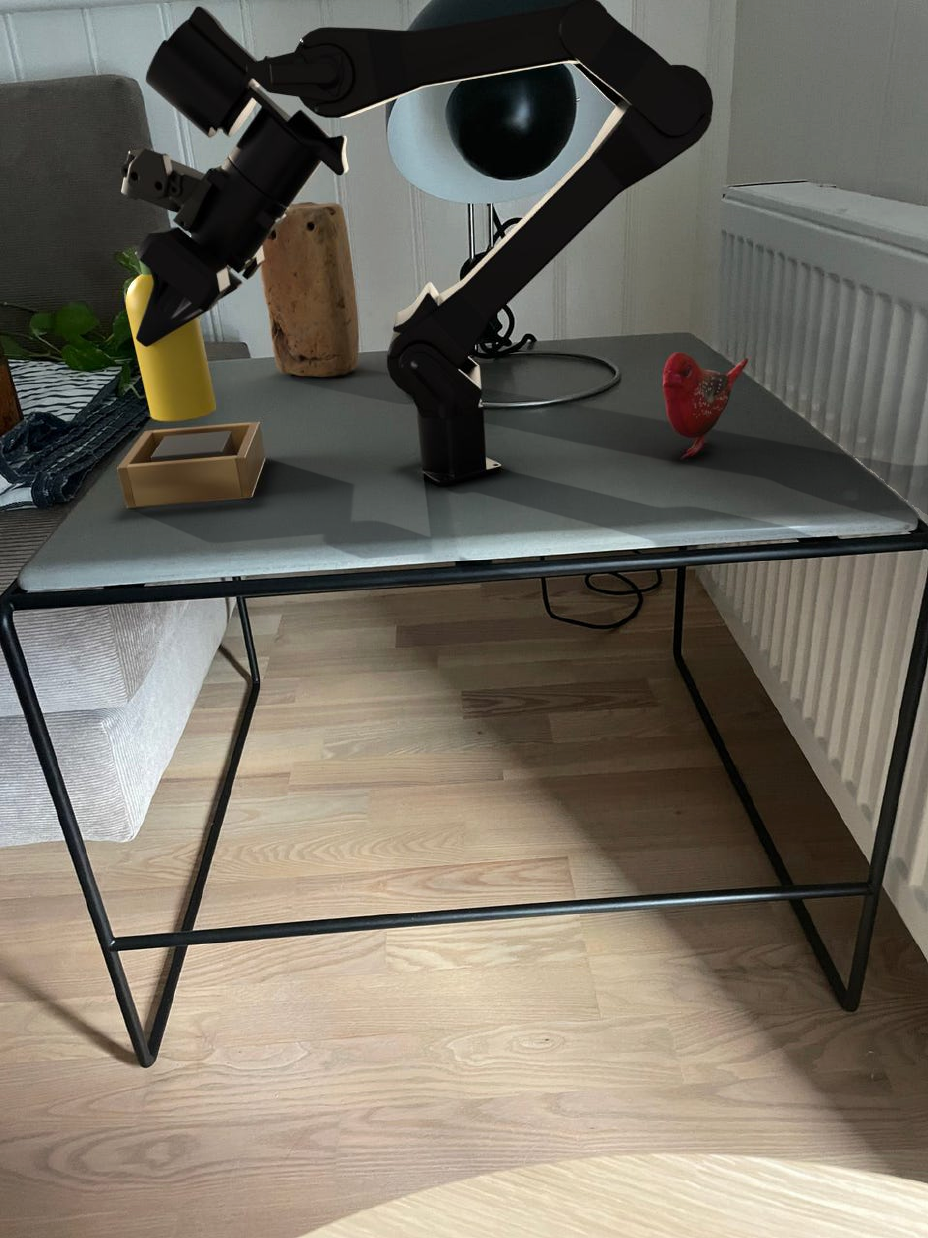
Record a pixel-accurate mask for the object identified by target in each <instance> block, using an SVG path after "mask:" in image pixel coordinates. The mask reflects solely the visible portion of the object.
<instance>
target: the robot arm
mask: <svg viewBox="0 0 928 1238" xmlns="http://www.w3.org/2000/svg"><path fill="white" fill-rule="evenodd" d="M559 64H571V65H572V66H573V67H574V68H576V70H578V71H579V72H580V73H581V75H583V76H584V77H585V78H586V80H588V81H589V83H591V84H592V85H593V86H594V87H595V88H596V89H597V90H598V91H599V93H600V94H601V95H603V96H604V97H605V98H606V99H607V100H608V101H609V102H610V103H611V104H612V105H614V107H615V108H614V109H613V110H612V112H611V113H610V114H609V116H608V117H607V119H606V121H605V122H604V123H603V125H602V127H601V128H600V130H599V132H598V133H597V135H596V137H595V139H594V140H593V142H592V143H591V144H590V146H589V148H588V149H587V151H586V152H585V153H584V155H583V156H582V157H581V158H580V160H578V161H577V162H576V163H575V165H573V166H572V168H570V170H569V171H568V172H567V173H566V174H565V175H563V176H562V178H561V179H560V180H559V181H558V182H557V183H556V184H555V185H554V186H553V187H552V188H551V189H550V190H549V191H548V192H547V193H546V194H545V195H544V196H543V197H542V198H541V199H540V200H539V201H538V202H537V203H535V205H534V206H533V207H532V208H531V209H530V210H529V211H528V212H527V213H526V214H525V216H523V217H522V218H521V219H520V221H519V222H518V223H516V225H515V226H514V227H512V229H511V230H510V231H509V232H507V233H506V235H504V237H503V238H502V239H501V240H500V241H499V242H498V243H497V244H496V245H495V246H494V247H493V248H492V249H491V250H489V252H488V253H487V254H486V255H485V256H484V257H483V258H482V259H481V260H480V261H479V262H478V263H477V264H476V265H475V266H474V267H473V268H472V269H471V270H470V271H469V272H468V273H467V274H466V275H465V276H464V278H463V279H461V280H460V281H459V282H457V283H456V284H454V285H453V286H451V287H449V288H447V289H446V290H444V291H442V292H441V293H439V291H438V290H437V288H436V287H435V285H434V284H433V283H432V282H431V281H429V282H427V284H426V285H425V286H424V288H423V289H422V291H421V292H420V293H419V295H418V297H417V298H416V299H415V301H414V302H413V303H412V304H411V305H409V306H408V307H407V308H405V309H403V310H400V311H398V312H397V314H396V317H395V321H394V323H393V328H392V331H393V332H392V336H391V339H390V342H389V346H388V349H387V352H386V368H387V371H388V374H389V377H390V379H391V380H392V382H393V383H394V384H395V385H396V387H398V388H399V389H400V390H401V391H403V392H404V393H406V394H409V395H410V396H411V398H412V400H413V402H414V405H415V406H416V413H417V414H416V415H417V417H416V418H417V428H418V429H417V430H418V437H419V438H418V440H419V451H420V458H421V459H420V461H421V467H422V476H423V478H424V479H425V480H428V481H429V482H430V483H431V482H432V483H433V484H435V485H437V486H440V487H443V486H448V485H452V484H455V483H459V482H463V481H466V480H470V479H474V478H478V477H482V476H485V475H490V474H492V473H496V472H501V470H502V464H501V463H499V462H497V461H495V460H492V459H490V458H488V457H487V450H486V429H485V428H486V427H485V412H484V411H485V410H484V408H485V407H484V405H483V400H482V396H483V385H482V374H481V373H482V372H481V367H480V365H479V364H478V363H477V362H475V361H474V360H473V359H472V358H471V357H470V355H471V353H472V352H473V350H474V348H475V347H476V345H477V344H478V342H479V341H480V339H481V337H482V336H483V334H484V332H485V331H486V329H487V328H488V326H489V325H490V323H491V322H492V320H493V319H494V318H495V317H496V316H497V315H498V314H499V313H500V312H501V311H502V310H503V309H504V308H505V307H506V306H507V305H508V304H509V303H510V302H511V301H512V300H513V299H514V298H515V297H517V295H518V294H519V293H520V292H521V291H522V290H523V289H524V288H525V287H526V286H528V284H530V282H532V280H533V279H535V277H537V275H538V274H539V273H540V272H541V271H543V270H544V269H545V268H546V267H547V266H548V264H550V263H551V262H552V261H553V260H554V259H555V258H556V256H558V255H559V254H560V253H561V252H562V251H563V250H564V249H565V248H566V247H567V246H568V245H569V244H570V243H571V242H572V241H573V240H574V239H575V238H576V237H578V235H579V234H580V233H581V232H582V231H583V230H584V229H585V228H586V227H587V226H588V225H590V223H591V222H592V221H593V220H594V219H595V218H596V217H597V216H598V215H600V213H601V212H602V211H603V210H604V209H606V208H607V206H609V204H610V203H612V201H613V200H614V199H616V198H617V197H618V195H621V193H623V192H624V191H625V190H627V189H628V188H631V187H632V186H634V185H636V184H637V183H639V182H641V181H642V180H644V179H645V178H647V177H648V176H651V175H652V174H654V173H656V172H657V171H658V170H661V169H662V168H663V167H665V166H666V165H667V164H670V162H672V161H674V160H675V159H676V158H677V157H679V156H681V155H682V154H683V153H685V152H686V151H687V150H689V149H691V148H692V147H693V146H695V145H696V144H697V143H698V142H699V141H701V139H702V138H703V136H704V135H705V134H706V132H707V131H708V129H709V128H710V125H711V122H712V118H713V117H712V116H713V110H714V98H713V92H712V89H711V86H710V84H709V82H708V81H707V78H706V77H705V76H704V75H703V74H702V73H701V72H700V71H699V70H697V68H695V67H691V66H689V65H686V64H670V63H669V62H668V61H667V59H665V58H664V57H663V56H662V55H661V54H660V53H658V51H656V50H655V49H654V48H653V47H651V45H648V44H647V43H646V42H644V40H642V39H641V37H639V36H637V35H636V34H634V33H633V32H632V31H631V30H629V29H628V27H627V28H626V26H624V25H623V24H621V23H620V22H619V21H618V20H617V19H616V18H614V16H613V15H611V13H609V12H608V9H607V8H606V7H605V6H604V5H603V4H602V3H601V2H600V1H599V0H570V1H568V2H566V3H563V4H558V5H553V6H547V7H541V8H535V9H529V10H525V11H517V12H513V13H508V14H502V15H501V14H500V15H496V16H490V17H485V18H479V19H473V20H468V21H462V22H455V23H452V24H446V25H440V26H434V27H427V28H423V29H418V30H403V29H402V30H401V29H399V30H397V29H385V28H370V27H368V28H367V27H341V26H339V27H334V26H333V27H332V26H324V27H318V28H315V29H313V30H311V31H309V32H307V33H305V35H303V36H302V38H301V39H300V40H299V43H298V45H297V46H296V48H295V50H294V51H293V52H288V53H284V54H280V55H275V56H269V55H265V56H264V57H263V59H260V60H258V59H257V58H255V57H254V56H253V55H252V54H251V53H250V52H249V51H248V50H247V49H246V48H245V47H244V46H243V45H242V44H241V43H239V41H238V40H236V39H235V38H234V37H233V36H232V35H231V34H230V33H229V32H228V31H227V30H226V29H225V27H224V26H223V25H222V23H221V21H220V20H218V18H217V17H216V16H214V14H213V13H212V12H210V11H209V10H208V9H207V8H205V7H203V6H196V7H195V9H193V12H192V13H191V15H190V16H189V17H188V19H186V20H185V21H183V22H182V23H181V24H180V25H179V26H178V27H177V28H176V29H175V31H173V33H172V34H171V35H170V37H168V39H164V40H163V41H162V42H161V44H160V45H159V47H158V48H157V50H156V51H155V54H154V55H153V57H152V58H151V61H150V63H149V65H148V67H147V70H146V75H145V82H146V84H147V85H148V86H149V87H150V88H152V89H153V90H154V91H155V92H156V93H157V94H158V95H160V96H161V97H162V98H163V99H164V100H165V101H167V102H168V103H169V104H170V105H171V106H172V107H174V109H176V111H178V112H179V113H180V114H181V115H183V116H184V118H186V119H187V120H188V121H189V122H190V123H192V124H193V125H194V126H195V127H196V128H197V129H198V130H200V132H202V133H203V134H204V135H205V136H206V137H208V138H209V139H211V138H213V137H214V136H215V135H217V134H218V133H219V132H220V131H221V130H222V133H223V134H224V135H225V136H226V137H228V138H231V137H232V136H234V135H235V133H237V132H238V131H239V129H240V128H241V127H242V126H243V124H244V123H245V122H246V120H247V119H248V117H249V116H250V114H251V113H252V111H253V109H254V108H255V106H256V104H259V105H260V106H261V107H260V108H259V110H258V112H257V113H256V114H255V115H254V118H253V119H252V120H251V122H250V124H249V125H248V126H247V128H246V129H245V130H244V132H243V133H242V135H241V137H240V138H239V139H238V141H237V142H236V144H235V146H234V147H233V148H232V150H231V151H230V153H229V154H228V156H227V157H226V159H225V160H224V161H223V163H222V164H221V165H219V166H217V167H210V168H208V170H207V171H206V172H201V171H200V170H198V169H195V168H193V167H191V166H190V165H189V166H188V165H186V164H183V163H181V162H179V161H176V160H174V159H171V158H170V155H169V153H166V152H165V153H161V152H158V151H155V150H154V148H153V147H151V146H148V147H143V148H140V149H132V150H129V151H128V154H127V157H126V161H125V162H124V163H123V164H121V165H120V167H119V172H120V174H121V176H122V177H123V181H122V186H121V191H120V192H121V194H122V195H124V196H125V197H128V198H130V199H131V200H134V201H136V200H142V201H144V202H146V203H149V204H152V205H155V206H157V207H160V208H161V209H165V210H167V211H169V212H173V213H176V215H175V216H174V218H173V219H172V221H173V223H175V224H176V225H177V226H175V227H161V228H159V229H155V230H154V231H151V232H148V233H147V235H146V236H145V238H144V239H143V241H142V242H141V243H140V245H139V247H138V248H137V250H136V251H135V256H136V258H137V259H138V261H139V260H140V261H141V262H142V263H143V264H145V265H146V266H147V267H148V268H149V269H150V272H151V275H152V278H153V287H152V290H151V294H150V297H149V300H148V303H147V306H146V309H145V312H144V315H143V318H142V321H141V324H140V326H139V329H138V332H137V335H136V340H137V341H138V342H140V343H141V344H142V345H144V346H145V347H148V346H150V345H151V344H153V343H155V342H156V341H158V340H160V339H161V338H163V337H165V336H166V335H168V334H170V333H171V332H173V331H175V330H176V329H178V328H180V327H182V326H183V325H185V324H187V323H188V322H190V321H192V320H193V319H195V318H197V317H198V316H199V317H200V316H202V315H203V314H205V313H207V312H209V311H210V310H212V309H213V308H214V307H216V306H217V305H218V304H219V301H220V300H222V299H223V298H225V297H226V296H228V295H230V294H232V293H233V292H235V291H236V290H237V289H239V288H240V287H241V286H243V281H242V280H241V279H240V278H239V277H238V276H237V275H235V274H234V272H232V271H231V270H233V271H235V272H236V274H240V273H241V272H242V274H241V276H242V277H243V278H244V279H245V280H246V281H248V280H249V279H250V278H252V277H253V276H254V275H255V274H256V272H257V271H258V270H259V268H260V265H261V264H262V262H263V261H264V260H265V259H264V253H263V246H262V245H263V243H264V242H265V240H266V239H267V238H268V236H269V235H270V233H271V232H272V231H273V229H274V228H276V227H277V226H279V225H280V223H281V222H282V221H283V219H284V218H285V217H286V215H285V213H286V211H287V210H288V209H289V207H290V206H291V204H294V201H295V200H296V199H297V197H298V196H299V194H300V193H301V192H302V191H303V189H304V188H305V186H306V185H307V184H308V182H309V181H310V179H311V178H312V176H314V174H315V172H316V171H317V170H318V169H319V167H320V166H321V164H322V163H323V164H324V165H325V166H326V167H327V168H329V169H330V171H332V172H333V173H334V174H335V175H337V176H343V175H344V174H346V173H347V172H349V169H350V168H349V163H348V160H347V152H346V150H347V149H346V148H347V142H348V138H347V136H346V135H345V134H340V135H336V136H331V135H329V134H328V133H327V132H326V131H325V130H324V129H323V128H322V127H321V126H320V125H318V123H316V122H315V120H313V119H312V118H311V117H310V116H309V115H308V114H307V113H305V112H304V111H303V109H299V110H297V111H296V112H295V113H294V114H293V115H292V116H291V115H290V114H289V113H287V112H286V111H285V110H284V109H283V108H282V107H281V106H279V105H278V104H277V103H276V102H275V101H274V100H273V99H272V98H271V97H269V96H268V95H267V94H266V92H268V93H270V94H275V95H282V96H289V97H297V98H299V100H300V101H301V103H302V104H303V105H304V106H305V107H306V108H307V109H308V110H310V111H311V112H312V113H314V115H317V116H319V117H322V118H325V119H345V118H349V117H352V116H356V115H358V114H361V113H363V112H367V111H368V110H371V109H374V108H376V107H379V106H381V105H384V104H387V103H389V102H392V101H393V100H396V99H399V98H401V97H404V96H406V95H408V94H410V93H413V92H416V91H419V90H422V89H424V88H428V87H429V88H430V87H435V86H439V85H445V84H452V83H456V82H462V81H467V80H468V81H469V80H473V79H479V78H486V77H492V76H496V75H502V74H508V73H515V72H521V71H525V70H531V69H532V70H533V69H537V68H543V67H548V66H555V65H559ZM259 87H261V88H262V89H263V90H264V91H266V92H264V91H263V90H262V89H261V88H259ZM187 232H188V234H187ZM189 234H190V235H189Z"/></svg>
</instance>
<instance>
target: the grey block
mask: <svg viewBox="0 0 928 1238" xmlns="http://www.w3.org/2000/svg"><path fill="white" fill-rule="evenodd" d="M235 455H236V454H235V449H234V444H233V438H232V433H231V431H223V432H211V433H199V434H186V435H174V436H165V437H164V439H163V440H162V442H161V443H160V445H159V446H158V448H157V449H156V451H155V452H154V454H153V455H152V456H151V460H152V462H163V461H175V460H187V459H199V458H211V457H223V456H235Z"/></svg>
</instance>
